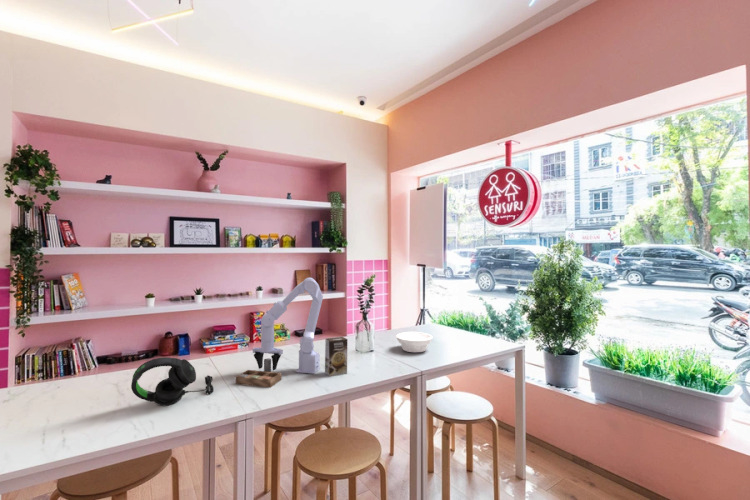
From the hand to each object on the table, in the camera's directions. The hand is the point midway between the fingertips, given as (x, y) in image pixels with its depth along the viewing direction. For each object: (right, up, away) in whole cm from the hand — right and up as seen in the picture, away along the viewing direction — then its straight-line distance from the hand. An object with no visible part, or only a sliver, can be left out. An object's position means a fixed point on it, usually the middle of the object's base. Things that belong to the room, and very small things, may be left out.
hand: (267, 368), depth 161 cm
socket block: (0, -2, -11) cm, 11 cm away
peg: (0, -2, 0) cm, 2 cm away
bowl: (+73, -3, +39) cm, 83 cm away
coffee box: (+32, -2, +1) cm, 32 cm away
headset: (-26, -2, -30) cm, 40 cm away
